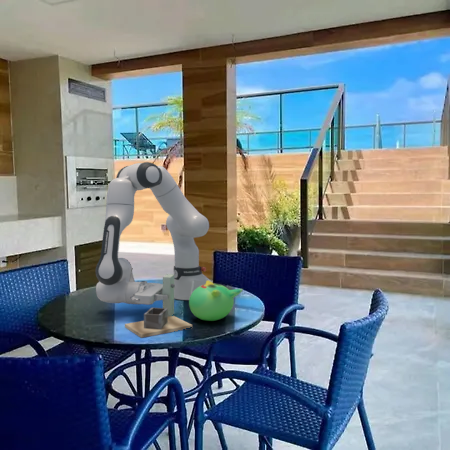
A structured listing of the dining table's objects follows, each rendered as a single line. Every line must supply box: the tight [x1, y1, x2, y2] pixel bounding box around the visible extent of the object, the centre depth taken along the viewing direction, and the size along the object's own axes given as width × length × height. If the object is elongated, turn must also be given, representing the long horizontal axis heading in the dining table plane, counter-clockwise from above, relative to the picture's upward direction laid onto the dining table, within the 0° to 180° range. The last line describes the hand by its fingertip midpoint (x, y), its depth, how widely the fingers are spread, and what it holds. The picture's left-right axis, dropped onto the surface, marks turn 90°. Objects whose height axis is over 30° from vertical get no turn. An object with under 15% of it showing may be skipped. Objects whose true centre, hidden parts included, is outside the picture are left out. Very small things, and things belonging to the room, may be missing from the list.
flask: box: [129, 267, 136, 282], centre depth 233 cm, size 7×7×10 cm
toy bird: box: [188, 280, 244, 322], centre depth 181 cm, size 18×17×15 cm
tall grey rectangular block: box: [162, 273, 175, 317], centre depth 185 cm, size 6×4×16 cm
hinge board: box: [124, 307, 193, 339], centre depth 170 cm, size 20×14×6 cm
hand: (170, 294), depth 185 cm, fingers open, 7 cm apart
